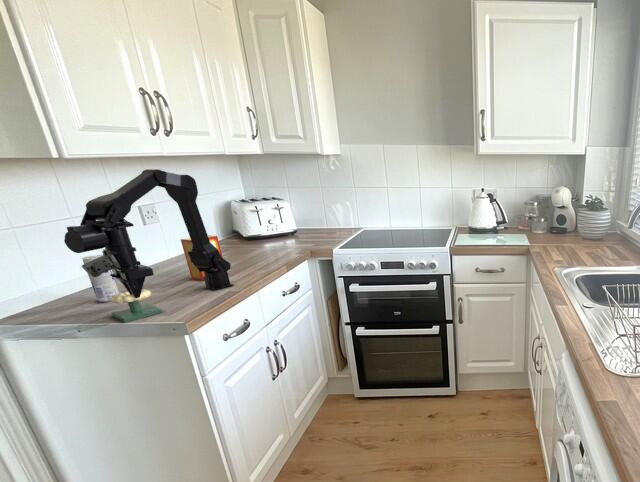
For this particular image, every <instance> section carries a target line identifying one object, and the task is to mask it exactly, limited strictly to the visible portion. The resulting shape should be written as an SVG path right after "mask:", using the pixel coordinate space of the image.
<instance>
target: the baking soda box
mask: <svg viewBox="0 0 640 482" xmlns="http://www.w3.org/2000/svg"><path fill="white" fill-rule="evenodd" d="M207 235H208V238H209V241H210V243H211V244H212V245H213V246H215V247H216V248H217V249H218V251H219V253H220V255H221V257H222V258H223V259H224V257H223V253H222V250H221V245H220V241H219V237H218V235H212V234H211V235H210V234H207ZM180 243H181V246H182V249H183V252H184V257H185V260H186V263H187V267H188V270H189V275H190V276H191V280H195V281H203V282H205V281H204V276H205V275H204V272H200V271H199V270H198V268H197V267H196V266H195V265H194V264H193V263H191V259H190V256H189V255H188V252H189V251H191V250H192V247H193V244H192V241H191V238H190V237H186V238H181V239H180Z"/></svg>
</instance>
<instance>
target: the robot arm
mask: <svg viewBox="0 0 640 482" xmlns="http://www.w3.org/2000/svg"><path fill="white" fill-rule="evenodd" d="M156 187H158V188H163V189H164V190H165V192H166V193H167V195H168V196H169V197H170V198H171V199H172V200H173V201H174V202H175V203H176V204H177V206H178V208H179V211H180V214H181V216H182V219H183V223H184V224H185V227H186V230H187V232H188V235H189V238H191V241H192V244H193V247H192V250H191V251H189V252H188V255H189V256H190V259H191V263H193V264H194V265H195V266H196V267H197V268H198V270H199V271H200V272H204V275H205V276H204V281H203V282H204V284H205V289H209V290H212V291H217V290H221V289H224V288H229V287H233V286H234V284H233V283H231V281H230V277H229V273H228V271H231V266H232V264H231V263H230V262H229V261H228V260H227V259H226V258H224V257H223V256H222V257H223V258H222V257H221V255H220V253H219V251H218V249H217V248H216V247H215V246H213V245H212V244H211V243H210V241H209V238H208V235H209V234H208V233H207V230H206V227H205V223H204V221H203V218H202V216H201V213H200V209H199V207H198V204H197V199H198V195H199V189H198V185H197V181H196V179H195V178H194V177H192V176H191V175H189V174H177V173H173V172H168V171H164V170H161V169H158V168H157V169H153V168H152V169H149V168H147V169H144V170H142V172H141V173H139V174H138V175H136V176H135V177H134V178H132V179H131V180H130V181H128V182H127V183H125V184H124V185H122V186H121V187H120V188H118V189H116V190H115V191H113V192H111V193H108V194H104V195H100V196H97V197H95V198H92V199H90V200H88V201H87V202H86V204H85V207H86V209H85V212H84V214H83V216H82V219H81V222H80V225H71V226H66V230H67V232H66V233H65V234H64V240H63V242H64V244H65V246H66V247H67V248H68V249H69V250H70V251H71V252H73V253H75V254H81V253H87V252H92V251H96V250H101V249H102V251H101V252H102V255H103V256H101V257H98V258H96V259H94V260H92V261H90V262H87V263H85V264H84V263H83V264H82V265H81V268H82V269H83V270H84V271H85V272H86V273H87V275H88V274H89V275H90V276H93V277H98V276H100V275H101V274H102V273H104V272H105V273H107V272H108V270H111V272H112V274H111V275H110V276H112V277H113V278H114V279H117V280H119V282H120V283H121V284H122V285H123V287H124V288H125V289H126V292H129V294H130V295H133V296H134V297H135V298H139V297H140V295H141V291H142V290H143V287H144V283H145V281H146V278H148V277H152V276H154V275H155V274H154V273H155V272H154V271H153V268H151V267H150V266H148V265H145V264H142V263H141V261H139V260H137V256H136V254H135V253H136V252H137V248H136V247H135V246H133V244H132V241H131V238H130V235H129V233H128V228H130V227H134V223H132V222H130V221H128V220H127V219H126V217H127V216H128V214H129V213H130V212H131V211H132V207H133V205H134V203H136V202H137V201H139V200H140V199H141V198H143V197H144V196H145V195H147V194H148V193H149V192H151V191H152V190H153V189H155V188H156Z"/></svg>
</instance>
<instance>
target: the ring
mask: <svg viewBox="0 0 640 482" xmlns="http://www.w3.org/2000/svg"><path fill="white" fill-rule="evenodd" d="M151 295H152V292H151V291H150V290H149V289H142V291H141V295H140V297H139V298H135V297H134V296H133V295H130V294H129V292H128V291H125V292H119V294H116V295H114V296H112V297H111V298H110V300H111V301H110V302H111V303H114V304H128V302H133V301H137V300H138V301H141V300H144V299H148V298H149V297H150V296H151Z"/></svg>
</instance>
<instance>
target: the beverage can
mask: <svg viewBox="0 0 640 482" xmlns="http://www.w3.org/2000/svg"><path fill="white" fill-rule="evenodd" d="M101 256H103V254H94V255H87V256H83V257H81V260H82V263H83V264H85V263H87V262H90V261H92V260H94V259H96V258H98V257H101ZM111 274H113V273H112V270H108V272H107V273H105V272H104V273H102V274H101V275H100V276H98V277H93V276H90V275H89V274H88V273H87V276H88V279H89V282H90V284H91V286H92V289H93V292H94V294H95V297H96V300H97V302H100V303H108V302H109V303H110V302H111V300H110V298H111V297H112V296H114V295H116V294H120V291H119V289H118V286H117V283H116V280H115V278H114V277H112V276H110V275H111Z"/></svg>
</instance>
